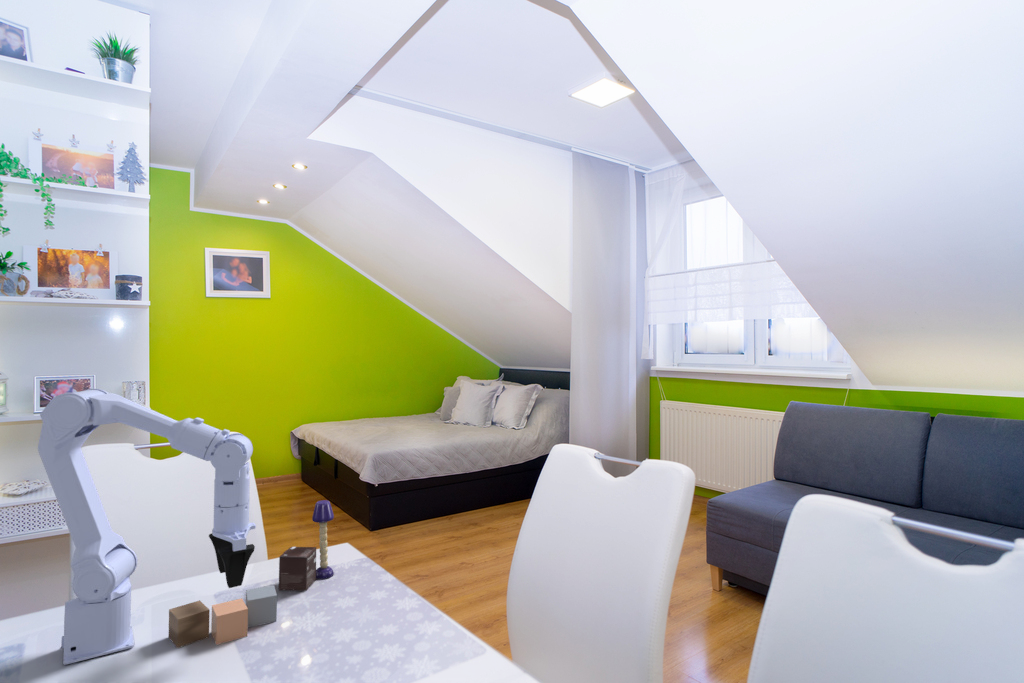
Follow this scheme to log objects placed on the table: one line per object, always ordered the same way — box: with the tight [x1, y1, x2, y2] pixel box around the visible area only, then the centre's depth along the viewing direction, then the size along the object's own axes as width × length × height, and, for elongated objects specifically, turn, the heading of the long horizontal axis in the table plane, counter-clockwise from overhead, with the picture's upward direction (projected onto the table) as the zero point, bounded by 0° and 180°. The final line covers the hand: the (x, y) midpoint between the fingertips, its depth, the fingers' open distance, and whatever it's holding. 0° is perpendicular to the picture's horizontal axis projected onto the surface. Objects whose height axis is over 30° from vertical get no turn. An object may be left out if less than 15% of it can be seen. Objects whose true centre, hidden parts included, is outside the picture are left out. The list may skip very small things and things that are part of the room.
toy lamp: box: [311, 499, 335, 580], centre depth 127 cm, size 5×5×17 cm
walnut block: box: [168, 600, 210, 649], centre depth 100 cm, size 5×5×5 cm
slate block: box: [245, 584, 278, 628], centre depth 107 cm, size 5×5×5 cm
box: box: [278, 546, 317, 592], centre depth 122 cm, size 6×6×7 cm
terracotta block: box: [210, 597, 249, 645], centre depth 101 cm, size 5×5×5 cm
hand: (230, 578), depth 101 cm, fingers open, 7 cm apart
